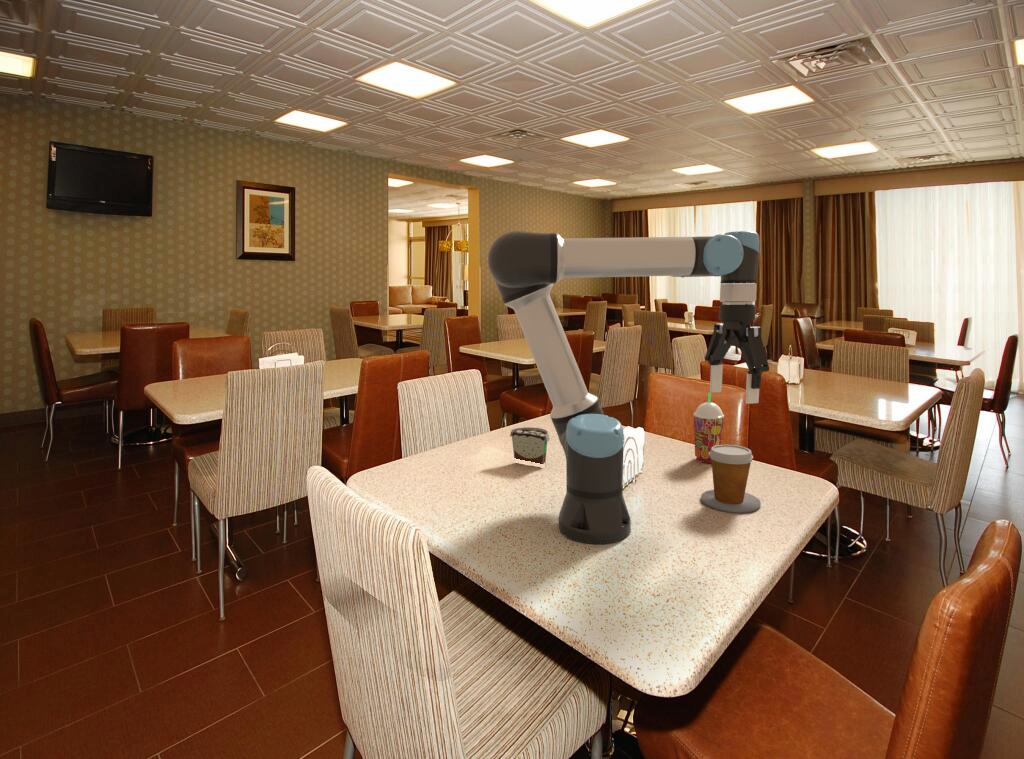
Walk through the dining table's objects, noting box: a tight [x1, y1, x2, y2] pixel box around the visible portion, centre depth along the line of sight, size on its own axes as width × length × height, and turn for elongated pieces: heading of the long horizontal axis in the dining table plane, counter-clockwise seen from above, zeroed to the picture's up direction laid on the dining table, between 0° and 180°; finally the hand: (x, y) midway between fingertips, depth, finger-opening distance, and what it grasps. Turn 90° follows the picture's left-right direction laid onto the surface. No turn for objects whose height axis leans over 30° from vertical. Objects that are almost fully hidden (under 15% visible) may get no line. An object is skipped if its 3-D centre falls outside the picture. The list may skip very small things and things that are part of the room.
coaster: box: [700, 489, 761, 514], centre depth 131 cm, size 13×13×1 cm
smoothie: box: [693, 392, 725, 464], centre depth 161 cm, size 8×8×20 cm
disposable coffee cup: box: [709, 444, 754, 504], centre depth 130 cm, size 10×10×12 cm
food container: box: [509, 426, 551, 464], centre depth 162 cm, size 12×6×10 cm, turn 58°
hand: (732, 397), depth 127 cm, fingers open, 13 cm apart
